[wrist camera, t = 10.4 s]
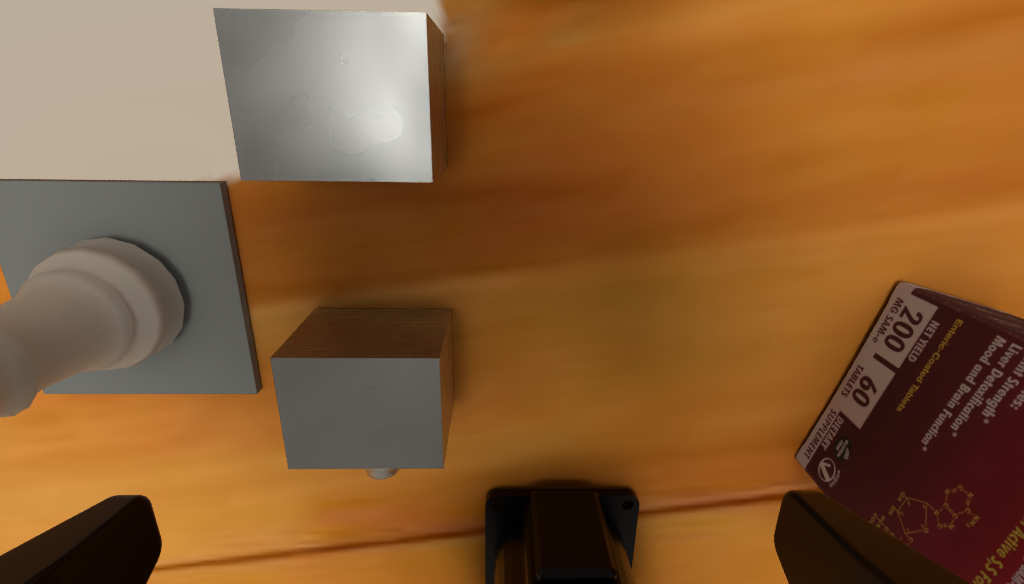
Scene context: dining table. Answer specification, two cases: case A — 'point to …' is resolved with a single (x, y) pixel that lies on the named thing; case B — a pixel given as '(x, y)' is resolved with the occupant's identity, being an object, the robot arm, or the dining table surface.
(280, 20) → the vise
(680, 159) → the dining table surface
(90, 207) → the mat
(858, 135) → the dining table surface
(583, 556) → the robot arm
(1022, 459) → the supplement box
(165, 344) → the rook chess piece
